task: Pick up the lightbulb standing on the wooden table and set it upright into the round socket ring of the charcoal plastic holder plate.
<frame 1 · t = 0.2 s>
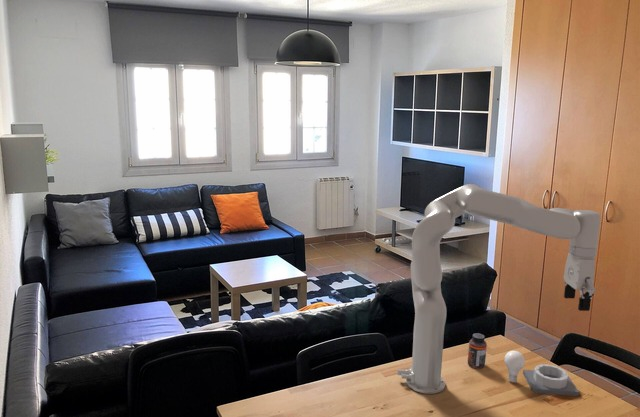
hand: (576, 304, 162), 31 cm above the table, tool pointing down, fingers open, 9 cm apart
socket holder: (549, 384, 173), on the table
supplement bottle: (476, 365, 185), on the table
lightbulb: (512, 382, 174), on the table
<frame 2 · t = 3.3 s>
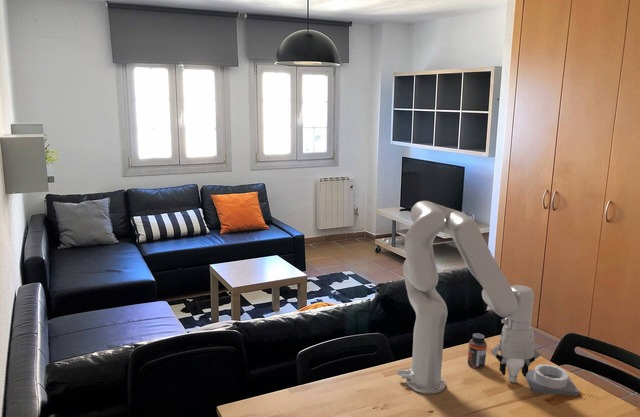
hand: (513, 373, 174), 3 cm above the table, tool pointing down, fingers closed on lightbulb, 6 cm apart
lightbulb: (512, 382, 174), on the table, touching gripper
everything else where it was.
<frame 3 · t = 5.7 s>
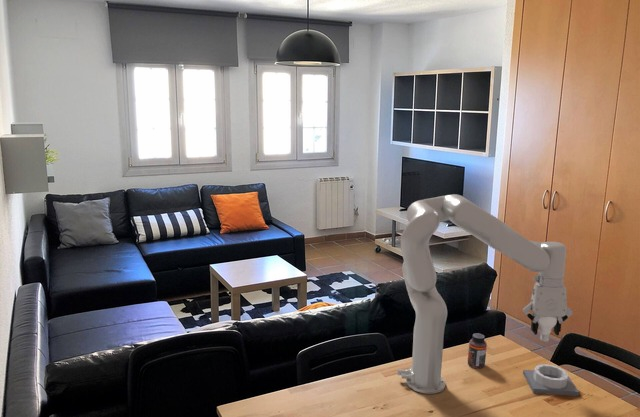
hand: (545, 332, 170), 18 cm above the table, tool pointing down, fingers closed on lightbulb, 6 cm apart
lightbulb: (544, 342, 170), point 15 cm above the table, touching gripper
everything else where it was.
when the fingers open (8 cm above the table, at t = 8.2 s): lightbulb drops 3 cm, resting on socket holder.
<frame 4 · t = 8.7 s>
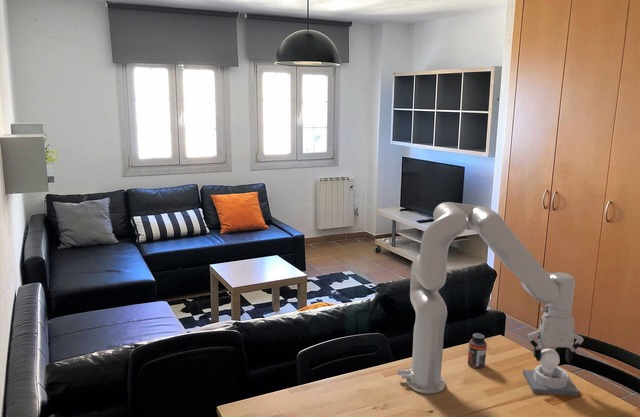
hand: (552, 360, 171), 9 cm above the table, tool pointing down, fingers open, 9 cm apart
lightbulb: (546, 380, 173), point 1 cm above the table, touching socket holder
everything else where it was.
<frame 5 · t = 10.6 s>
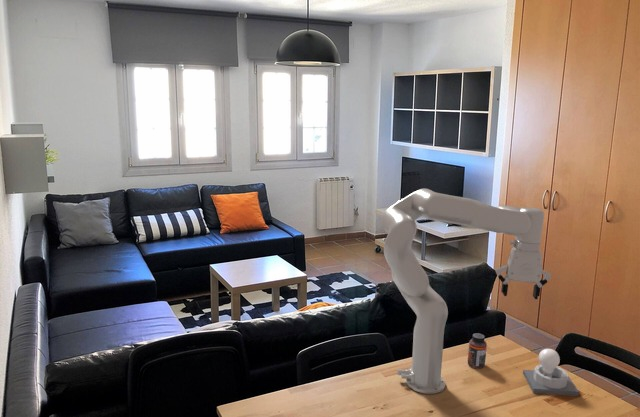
hand: (519, 296, 171), 29 cm above the table, tool pointing down, fingers open, 9 cm apart
nothing on the table moved.
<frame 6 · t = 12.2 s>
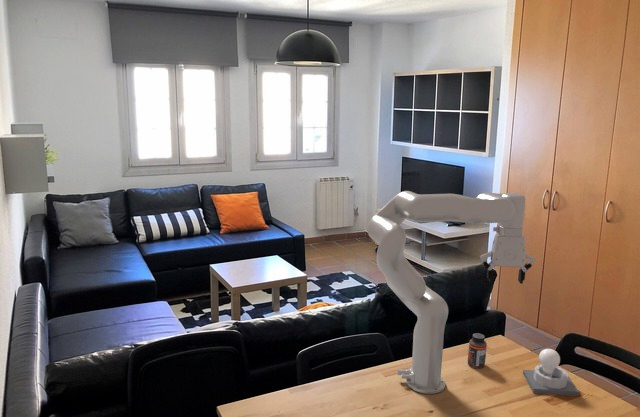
hand: (505, 281, 173), 33 cm above the table, tool pointing down, fingers open, 9 cm apart
nothing on the table moved.
at the end: lightbulb 1.1 cm off-centre on the socket holder, point 1.3 cm above the socket holder's base; lightbulb tilted 1°; the gripper is holding nothing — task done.
